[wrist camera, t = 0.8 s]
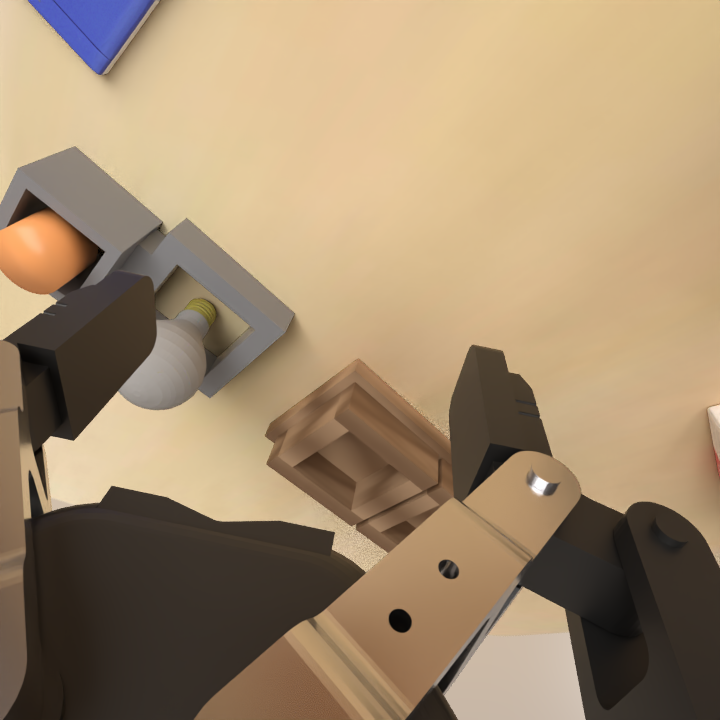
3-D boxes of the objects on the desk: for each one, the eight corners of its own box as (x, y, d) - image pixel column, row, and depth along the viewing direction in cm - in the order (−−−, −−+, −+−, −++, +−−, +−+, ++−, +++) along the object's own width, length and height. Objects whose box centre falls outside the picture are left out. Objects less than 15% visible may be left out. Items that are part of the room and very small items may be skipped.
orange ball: (48, 192, 28) (5, 213, 26) (108, 241, 30) (73, 265, 27) (24, 236, 31) (-18, 260, 28) (81, 279, 32) (46, 306, 29)
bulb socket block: (84, 128, 29) (27, 147, 26) (294, 313, 35) (274, 353, 31) (29, 229, 34) (-27, 259, 30) (221, 378, 40) (196, 420, 36)
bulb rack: (358, 358, 37) (348, 397, 33) (523, 506, 44) (529, 551, 40) (270, 423, 42) (253, 462, 39) (429, 545, 49) (427, 588, 46)
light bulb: (226, 349, 38) (167, 441, 30) (161, 313, 37) (81, 399, 29) (253, 299, 35) (195, 387, 27) (183, 259, 34) (101, 338, 26)
